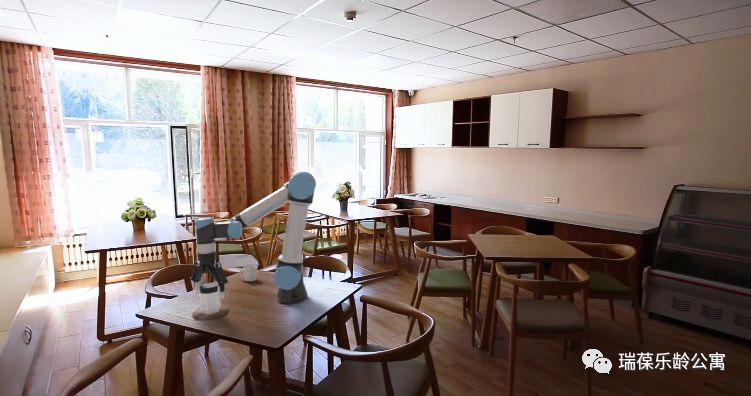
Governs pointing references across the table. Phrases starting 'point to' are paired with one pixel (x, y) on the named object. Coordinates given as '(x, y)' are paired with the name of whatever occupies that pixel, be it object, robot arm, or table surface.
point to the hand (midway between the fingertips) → (209, 297)
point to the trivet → (202, 316)
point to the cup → (249, 273)
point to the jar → (209, 298)
